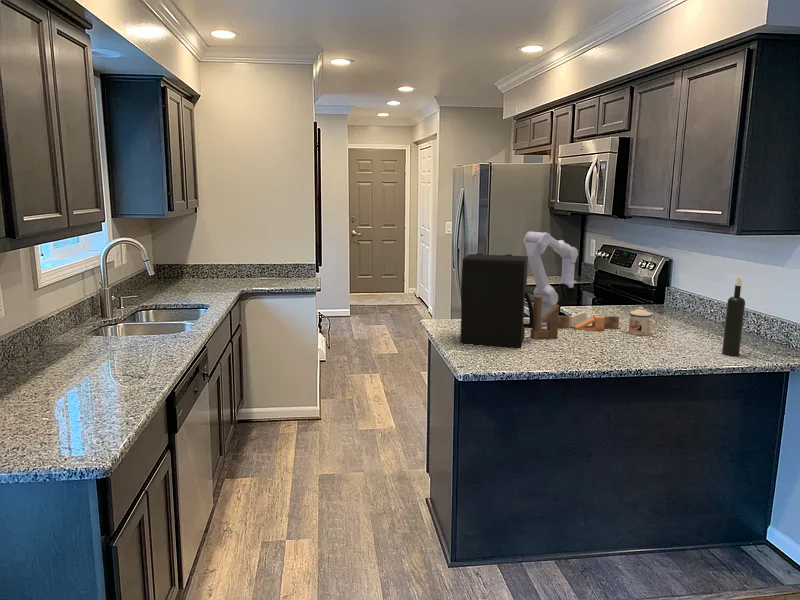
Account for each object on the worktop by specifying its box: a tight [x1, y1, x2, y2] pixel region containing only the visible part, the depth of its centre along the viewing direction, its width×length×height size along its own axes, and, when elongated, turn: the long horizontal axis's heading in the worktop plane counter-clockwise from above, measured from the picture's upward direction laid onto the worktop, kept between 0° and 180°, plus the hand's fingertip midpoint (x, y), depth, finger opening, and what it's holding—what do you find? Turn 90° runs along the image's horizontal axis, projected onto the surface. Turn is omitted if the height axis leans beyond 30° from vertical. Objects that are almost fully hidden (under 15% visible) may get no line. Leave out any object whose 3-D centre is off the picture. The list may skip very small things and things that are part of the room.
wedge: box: [573, 315, 605, 332], centre depth 266 cm, size 12×4×6 cm, turn 89°
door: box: [569, 310, 587, 328], centre depth 275 cm, size 15×1×5 cm, turn 139°
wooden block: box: [529, 295, 560, 340], centre depth 251 cm, size 4×11×18 cm, turn 98°
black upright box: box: [460, 253, 534, 350], centre depth 244 cm, size 28×20×35 cm
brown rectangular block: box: [558, 315, 620, 330], centre depth 269 cm, size 28×2×6 cm, turn 89°
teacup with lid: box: [628, 306, 656, 336], centre depth 258 cm, size 12×9×12 cm
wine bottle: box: [721, 275, 746, 357], centre depth 226 cm, size 6×6×30 cm
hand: (566, 300), depth 286 cm, fingers open, 7 cm apart
